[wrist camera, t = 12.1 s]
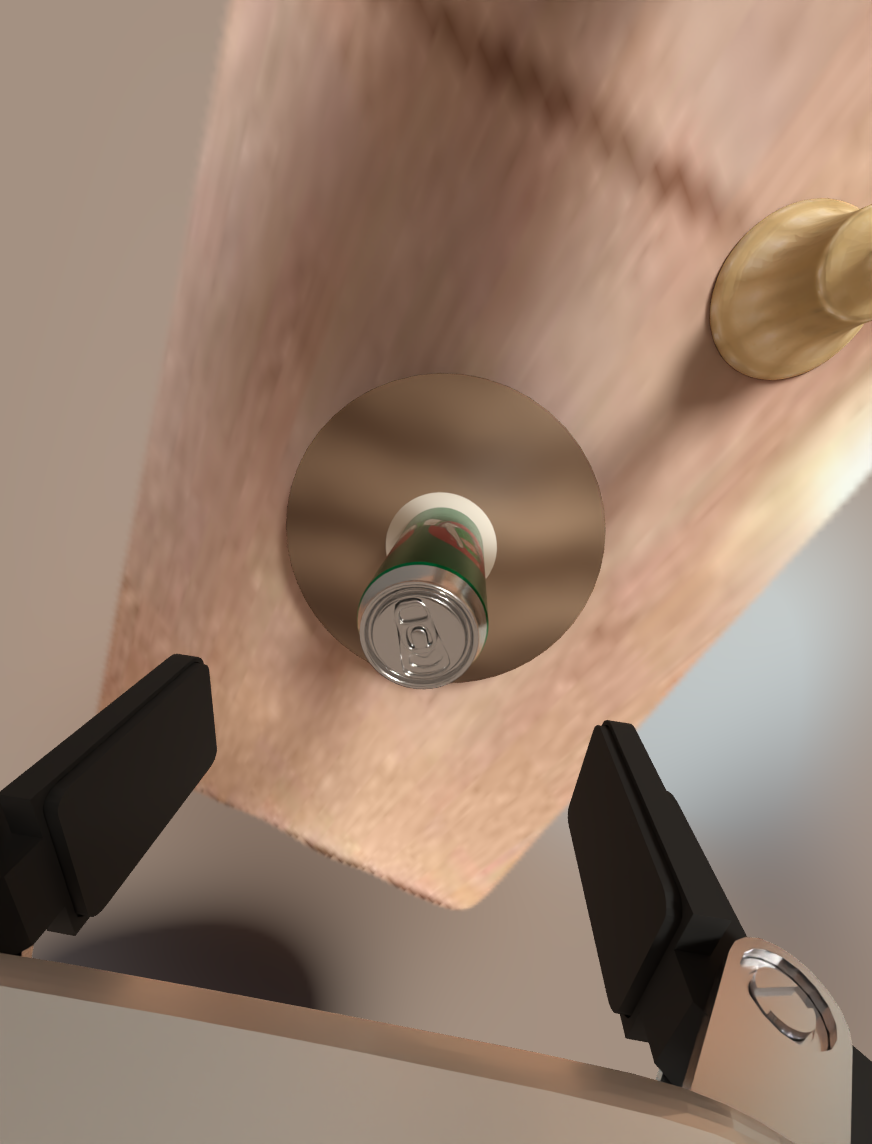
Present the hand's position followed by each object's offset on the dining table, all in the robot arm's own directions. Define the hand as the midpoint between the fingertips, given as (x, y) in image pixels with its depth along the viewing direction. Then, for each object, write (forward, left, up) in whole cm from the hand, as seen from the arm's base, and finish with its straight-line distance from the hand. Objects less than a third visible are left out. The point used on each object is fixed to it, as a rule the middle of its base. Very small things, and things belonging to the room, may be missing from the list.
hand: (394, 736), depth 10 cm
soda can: (0, 0, -17) cm, 17 cm away
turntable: (0, 0, -19) cm, 19 cm away
